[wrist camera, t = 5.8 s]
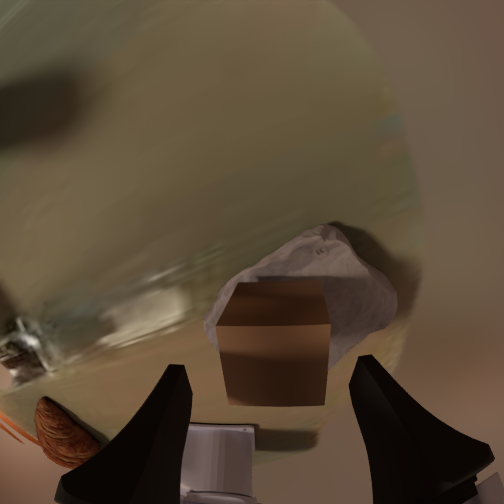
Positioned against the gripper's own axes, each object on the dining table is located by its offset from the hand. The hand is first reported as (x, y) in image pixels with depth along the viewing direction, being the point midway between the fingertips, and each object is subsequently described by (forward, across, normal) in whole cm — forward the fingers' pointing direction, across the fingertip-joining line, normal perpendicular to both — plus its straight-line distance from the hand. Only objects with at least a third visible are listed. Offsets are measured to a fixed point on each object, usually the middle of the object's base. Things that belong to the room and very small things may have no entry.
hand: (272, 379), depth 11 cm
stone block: (+9, -2, +2) cm, 10 cm away
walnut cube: (+5, -1, +1) cm, 5 cm away
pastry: (+9, +33, +31) cm, 46 cm away
